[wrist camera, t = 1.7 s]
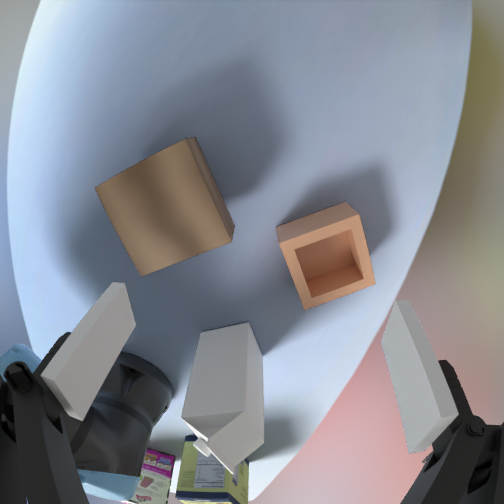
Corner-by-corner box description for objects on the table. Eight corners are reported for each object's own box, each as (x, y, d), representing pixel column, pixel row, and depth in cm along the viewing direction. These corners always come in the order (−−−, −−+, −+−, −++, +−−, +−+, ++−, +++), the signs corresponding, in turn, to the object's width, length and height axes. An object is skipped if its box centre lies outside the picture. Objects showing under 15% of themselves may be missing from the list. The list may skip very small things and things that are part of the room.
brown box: (154, 258, 32) (141, 276, 28) (114, 179, 29) (94, 187, 25) (235, 226, 31) (231, 242, 27) (195, 137, 27) (185, 138, 23)
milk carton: (248, 320, 39) (244, 444, 22) (263, 356, 42) (265, 471, 25) (200, 331, 40) (173, 448, 23) (218, 365, 43) (203, 475, 25)
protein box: (209, 464, 58) (203, 516, 44) (184, 435, 52) (173, 497, 38) (250, 462, 57) (248, 517, 43) (231, 433, 51) (227, 499, 37)
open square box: (299, 287, 37) (304, 309, 33) (275, 227, 34) (278, 243, 29) (362, 264, 36) (375, 283, 31) (345, 201, 33) (359, 214, 28)
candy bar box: (131, 449, 58) (117, 501, 43) (132, 442, 56) (116, 496, 41) (173, 462, 59) (163, 515, 44) (176, 456, 57) (166, 511, 42)
